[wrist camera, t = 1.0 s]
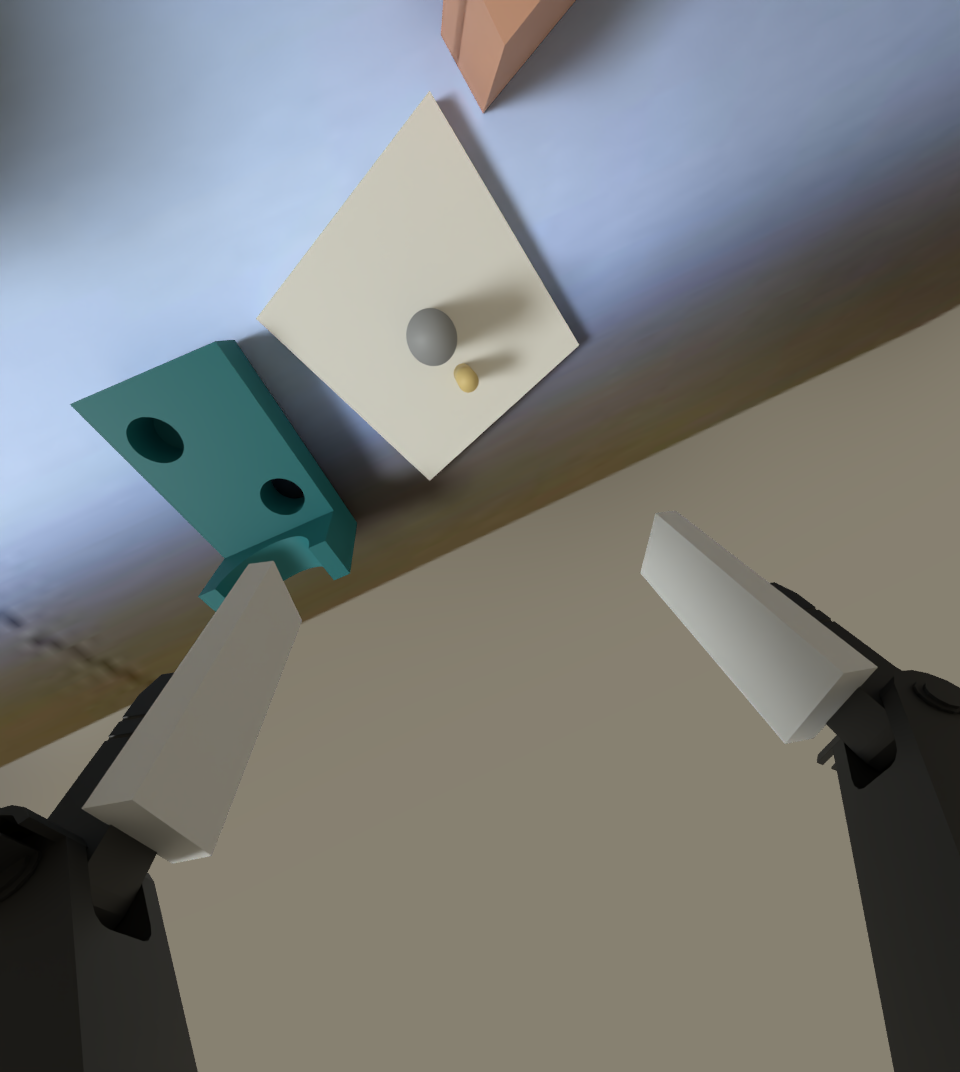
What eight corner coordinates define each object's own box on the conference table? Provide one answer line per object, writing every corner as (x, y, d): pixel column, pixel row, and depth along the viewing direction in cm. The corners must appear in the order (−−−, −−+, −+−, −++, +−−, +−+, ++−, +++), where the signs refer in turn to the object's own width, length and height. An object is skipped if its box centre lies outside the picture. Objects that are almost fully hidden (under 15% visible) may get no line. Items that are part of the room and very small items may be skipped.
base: (263, 318, 27) (208, 320, 20) (428, 103, 22) (433, 6, 15) (429, 474, 36) (431, 514, 29) (572, 343, 31) (617, 352, 24)
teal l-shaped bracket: (358, 516, 38) (349, 573, 29) (266, 556, 38) (231, 625, 29) (240, 339, 28) (175, 344, 19) (117, 392, 28) (-4, 422, 19)
